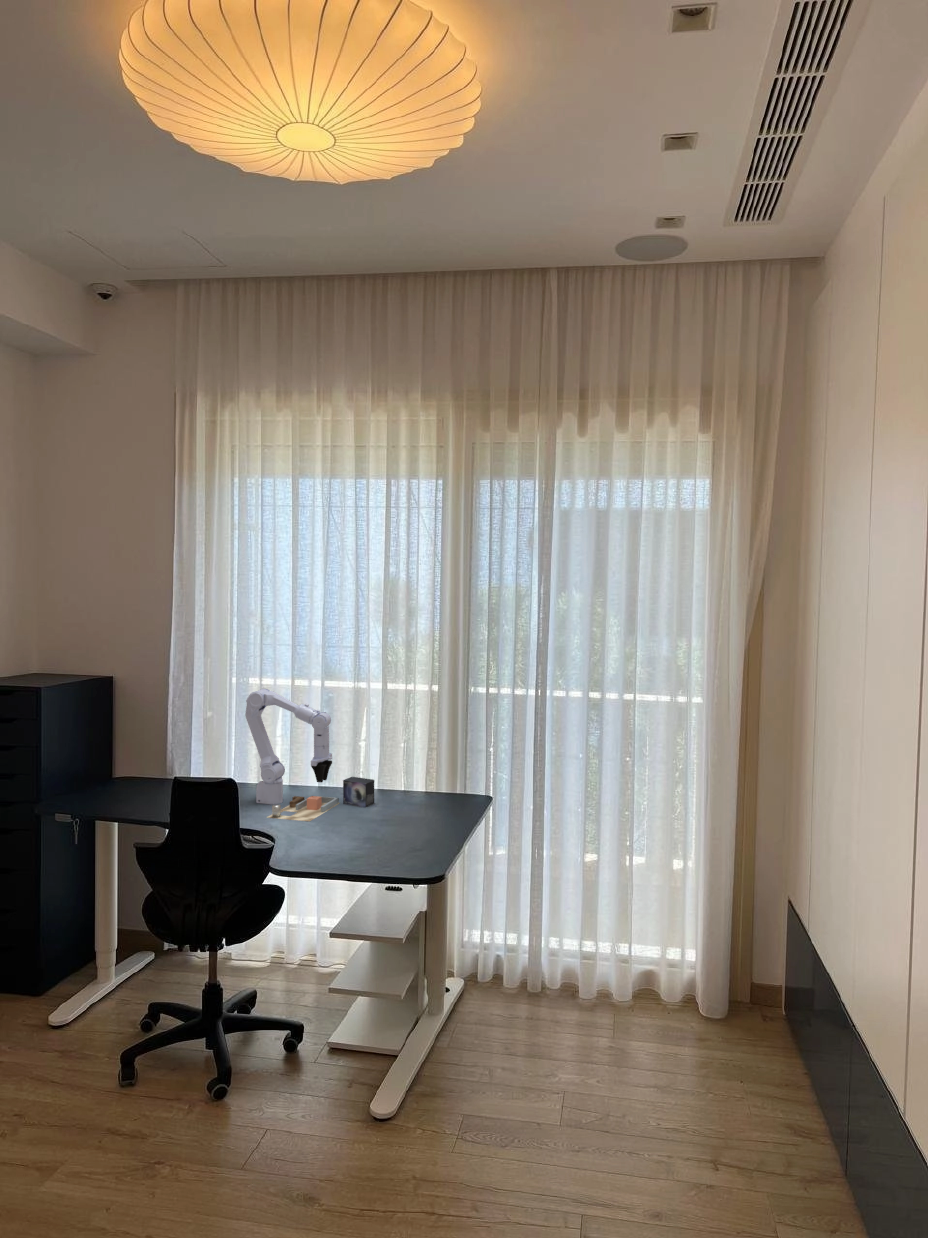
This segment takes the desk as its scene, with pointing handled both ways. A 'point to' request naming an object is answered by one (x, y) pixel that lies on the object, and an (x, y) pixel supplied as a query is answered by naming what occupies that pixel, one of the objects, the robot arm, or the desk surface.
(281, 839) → the desk surface
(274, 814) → the grey metal peg
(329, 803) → the grey rectangular frame
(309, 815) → the birch board
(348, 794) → the small box
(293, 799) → the walnut bar
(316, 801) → the coral cube
